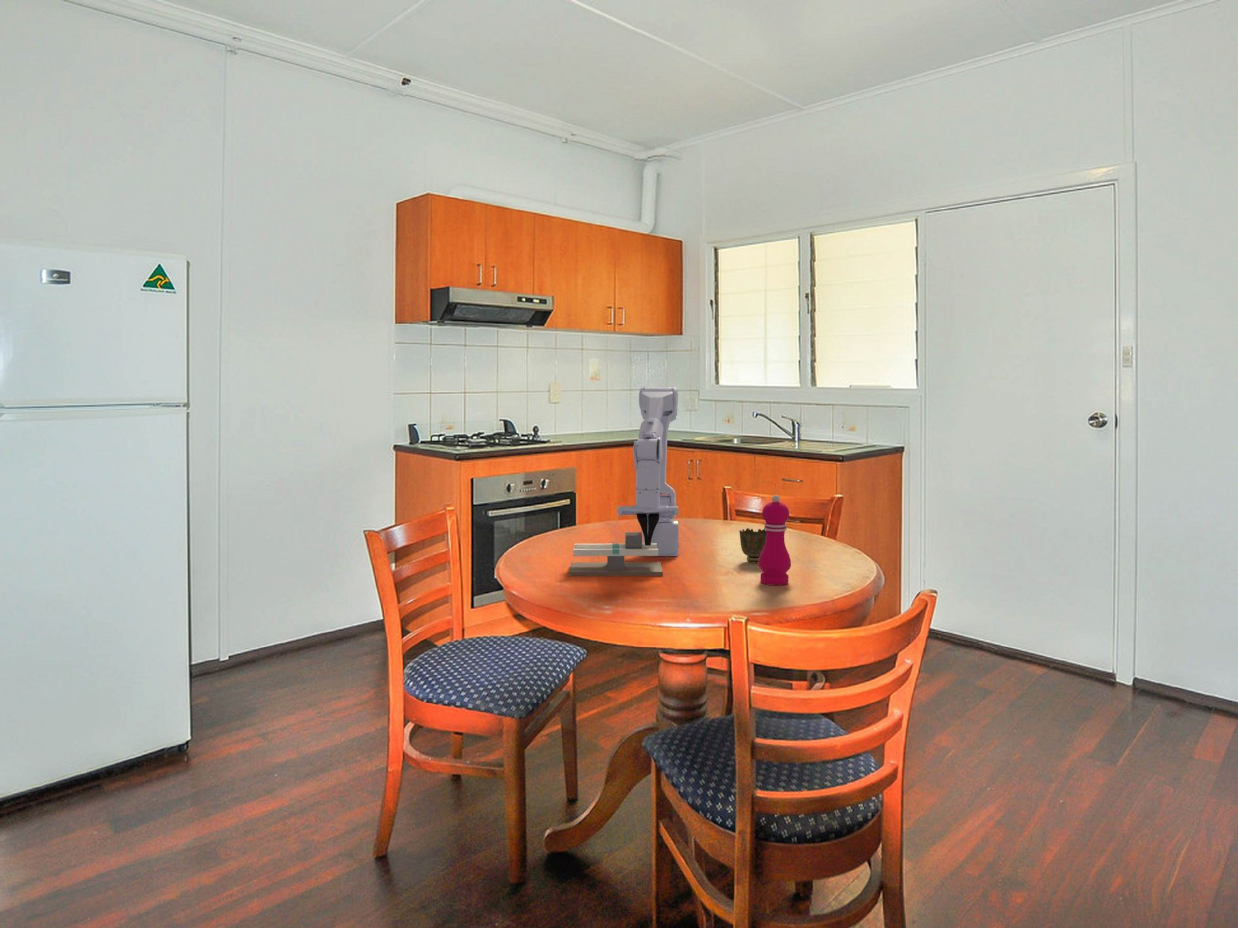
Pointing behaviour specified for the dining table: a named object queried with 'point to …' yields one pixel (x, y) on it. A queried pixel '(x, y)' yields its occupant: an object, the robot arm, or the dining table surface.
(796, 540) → the dining table surface
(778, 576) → the pepper mill
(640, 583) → the dining table surface
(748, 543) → the cup
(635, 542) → the rider
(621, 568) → the balance stand
